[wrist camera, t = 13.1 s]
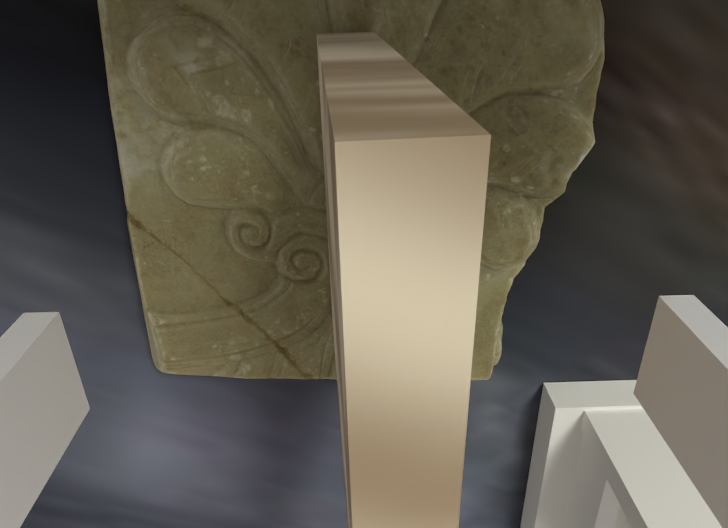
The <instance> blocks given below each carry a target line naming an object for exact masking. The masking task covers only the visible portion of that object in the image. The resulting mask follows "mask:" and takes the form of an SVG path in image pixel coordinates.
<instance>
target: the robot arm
mask: <svg viewBox="0 0 728 528" xmlns="http://www.w3.org/2000/svg"><path fill="white" fill-rule="evenodd" d="M633 394H634V395H635V397H636V398H637V400H638V401H639V403H640V404H641V406H642V407H643V409H644V410H645V412H646V413H647V415H648V416H649V418H650V419H651V421H652V422H653V424H654V425H655V427H656V428H657V430H658V431H659V433H660V434H661V436H662V437H663V439H664V440H665V442H666V443H667V445H668V446H669V448H670V449H671V451H672V453H673V454H674V456H675V457H676V459H677V460H678V462H679V463H680V465H681V466H682V468H683V469H684V471H685V472H686V474H687V475H688V477H689V478H690V480H691V481H692V483H693V484H694V486H695V487H696V489H697V490H698V492H699V493H700V495H701V496H702V498H703V499H704V501H705V502H706V504H707V505H708V507H709V508H710V510H711V511H712V513H713V514H714V516H715V517H716V519H717V520H718V522H719V523H720V525H721V526H722V528H728V327H727V326H725V325H724V324H723V323H722V322H721V321H720V320H719V319H718V318H717V317H716V316H715V315H714V314H713V313H712V312H711V311H710V310H709V309H708V308H707V307H706V306H705V305H704V304H702V303H701V302H700V301H699V300H698V299H697V298H696V297H695V296H694V295H675V296H659V298H658V302H657V305H656V309H655V313H654V317H653V321H652V324H651V328H650V332H649V336H648V340H647V343H646V347H645V351H644V355H643V359H642V362H641V366H640V370H639V374H638V378H637V381H636V385H635V389H634V393H633ZM89 410H90V407H89V404H88V401H87V398H86V395H85V391H84V388H83V385H82V382H81V379H80V376H79V373H78V370H77V366H76V363H75V360H74V357H73V354H72V351H71V348H70V345H69V341H68V338H67V335H66V332H65V329H64V326H63V323H62V320H61V316H60V313H59V312H35V313H23V314H22V315H21V316H20V317H19V318H18V319H17V320H16V321H15V322H14V324H13V325H12V326H11V327H10V328H9V329H8V330H7V331H6V332H5V333H4V334H3V335H2V336H1V337H0V528H20V527H21V525H22V523H23V522H24V520H25V518H26V517H27V515H28V513H29V512H30V510H31V508H32V506H33V505H34V503H35V501H36V500H37V498H38V496H39V495H40V493H41V491H42V489H43V488H44V486H45V484H46V483H47V481H48V479H49V478H50V476H51V474H52V473H53V471H54V469H55V467H56V466H57V464H58V462H59V461H60V459H61V457H62V456H63V454H64V452H65V450H66V449H67V447H68V445H69V444H70V442H71V440H72V439H73V437H74V435H75V433H76V432H77V430H78V428H79V427H80V425H81V423H82V422H83V420H84V418H85V416H86V415H87V413H88V411H89Z"/></svg>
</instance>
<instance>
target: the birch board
mask: <svg viewBox="0 0 728 528" xmlns="http://www.w3.org/2000/svg"><path fill="white" fill-rule="evenodd" d="M317 51H318V69H319V87H320V105H321V123H322V141H323V159H324V177H325V195H326V213H327V230H328V248H329V266H330V284H331V302H332V320H333V335H334V348H335V361H336V374H337V388H338V401H339V414H340V427H341V441H342V454H343V467H344V481H345V494H346V507H347V520H348V528H458V525H459V513H460V501H461V489H462V477H463V465H464V453H465V441H466V429H467V417H468V405H469V393H470V381H471V369H472V357H473V345H474V333H475V321H476V309H477V297H478V285H479V273H480V261H481V249H482V237H483V225H484V214H485V202H486V190H487V178H488V166H489V154H490V142H491V134H490V133H488V132H487V131H486V130H485V129H484V128H483V127H482V126H480V125H479V124H478V123H477V122H476V121H475V120H474V119H473V118H471V117H470V116H469V115H468V114H467V113H466V112H465V111H463V110H462V109H461V108H460V107H459V106H458V105H457V104H455V103H454V102H453V101H452V100H451V99H450V98H449V97H448V96H446V95H445V94H444V93H443V92H442V91H441V90H440V89H438V88H437V87H436V86H435V85H434V84H433V83H432V82H431V81H429V80H428V79H427V78H426V77H425V76H424V75H423V74H421V73H420V72H419V71H418V70H417V69H416V68H415V67H413V66H412V65H411V64H410V63H409V62H408V61H407V60H406V59H404V58H403V57H402V56H401V55H400V54H399V53H398V52H396V51H395V50H394V49H393V48H392V47H391V46H390V45H389V44H387V43H386V42H385V41H384V40H383V39H382V38H381V37H379V36H378V35H377V34H376V33H375V32H355V33H324V34H317Z"/></svg>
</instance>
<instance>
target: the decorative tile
mask: <svg viewBox="0 0 728 528" xmlns="http://www.w3.org/2000/svg"><path fill="white" fill-rule="evenodd" d="M97 2H98V10H99V18H100V26H101V33H102V41H103V49H104V57H105V65H106V74H107V83H108V92H109V99H110V106H111V113H112V119H113V125H114V131H115V137H116V143H117V149H118V157H119V164H120V171H121V177H122V183H123V189H124V196H125V204H126V209H127V225H128V230H129V234H130V239H131V246H132V252H133V258H134V264H135V268H136V273H137V278H138V283H139V289H140V294H141V299H142V305H143V311H144V317H145V322H146V327H147V333H148V338H149V343H150V348H151V353H152V358H153V363H154V364H155V366H156V368H157V369H158V370H160V371H161V372H163V373H166V374H178V375H203V376H221V377H233V378H243V379H337V374H336V361H335V348H334V335H333V320H332V302H331V284H330V266H329V248H328V230H327V213H326V195H325V177H324V159H323V141H322V123H321V105H320V87H319V69H318V51H317V34H324V33H355V32H375V33H376V34H377V35H378V36H379V37H381V38H382V39H383V40H384V41H385V42H386V43H387V44H389V45H390V46H391V47H392V48H393V49H394V50H395V51H396V52H398V53H399V54H400V55H401V56H402V57H403V58H404V59H406V60H407V61H408V62H409V63H410V64H411V65H412V66H413V67H415V68H416V69H417V70H418V71H419V72H420V73H421V74H423V75H424V76H425V77H426V78H427V79H428V80H429V81H431V82H432V83H433V84H434V85H435V86H436V87H437V88H438V89H440V90H441V91H442V92H443V93H444V94H445V95H446V96H448V97H449V98H450V99H451V100H452V101H453V102H454V103H455V104H457V105H458V106H459V107H460V108H461V109H462V110H463V111H465V112H466V113H467V114H468V115H469V116H470V117H471V118H473V119H474V120H475V121H476V122H477V123H478V124H479V125H480V126H482V127H483V128H484V129H485V130H486V131H487V132H488V133H490V134H491V142H490V154H489V166H488V178H487V190H486V202H485V214H484V225H483V237H482V249H481V261H480V273H479V285H478V297H477V309H476V321H475V333H474V345H473V357H472V369H471V380H487V379H489V378H490V377H491V374H492V371H493V365H497V363H498V361H499V359H500V357H501V352H502V341H501V340H502V332H503V325H502V322H501V319H502V314H503V310H504V305H505V303H506V299H507V294H508V292H509V290H510V288H511V285H512V283H513V278H514V277H515V276H516V275H517V274H518V273H519V272H520V270H521V269H522V268H523V267H524V265H525V262H526V259H527V258H528V257H529V256H530V255H531V253H532V252H533V251H534V250H535V249H536V246H537V244H538V242H539V239H540V229H541V226H542V222H543V216H544V209H545V207H546V206H547V205H548V204H550V203H551V202H552V201H554V200H555V199H556V198H558V197H559V196H560V195H562V194H563V193H564V192H565V189H566V184H567V182H568V180H569V178H570V176H571V174H572V172H573V171H574V170H576V169H577V167H578V166H579V164H580V163H581V162H582V160H583V159H584V158H585V156H586V155H587V154H588V153H589V151H590V150H591V149H592V147H593V145H594V143H595V137H594V130H593V114H594V110H595V106H596V95H597V89H598V86H599V82H600V77H601V70H602V67H603V63H604V58H605V47H604V14H603V8H602V5H601V1H600V0H97Z"/></svg>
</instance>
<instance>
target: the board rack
mask: <svg viewBox="0 0 728 528" xmlns="http://www.w3.org/2000/svg"><path fill="white" fill-rule="evenodd" d="M636 381H637V380H616V381H584V382H552V383H543V389H542V396H541V402H540V408H539V414H538V420H537V427H536V433H535V439H534V445H533V451H532V457H531V464H530V470H529V476H528V482H527V488H526V495H525V501H524V507H523V513H522V519H521V526H520V528H722V526H721V525H720V523H719V522H718V520H717V519H716V517H715V516H714V514H713V513H712V511H711V510H710V508H709V507H708V505H707V504H706V502H705V501H704V499H703V498H702V496H701V495H700V493H699V492H698V490H697V489H696V487H695V486H694V484H693V483H692V481H691V480H690V478H689V477H688V475H687V474H686V472H685V471H684V469H683V468H682V466H681V465H680V463H679V462H678V460H677V459H676V457H675V456H674V454H673V453H672V451H671V449H670V448H669V446H668V445H667V443H666V442H665V440H664V439H663V437H662V436H661V434H660V433H659V431H658V430H657V428H656V427H655V425H654V424H653V422H652V421H651V419H650V418H649V416H648V415H647V413H646V412H645V410H644V409H643V407H642V406H641V404H640V403H639V401H638V400H637V398H636V397H635V395H634V394H633V393H634V389H635V385H636Z"/></svg>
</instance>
